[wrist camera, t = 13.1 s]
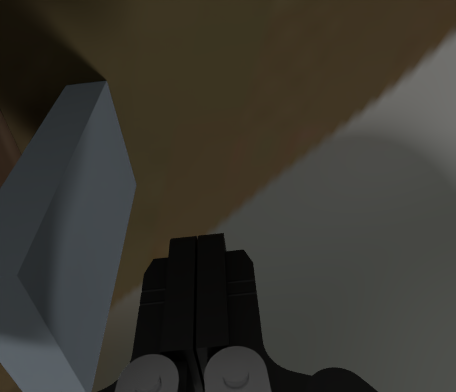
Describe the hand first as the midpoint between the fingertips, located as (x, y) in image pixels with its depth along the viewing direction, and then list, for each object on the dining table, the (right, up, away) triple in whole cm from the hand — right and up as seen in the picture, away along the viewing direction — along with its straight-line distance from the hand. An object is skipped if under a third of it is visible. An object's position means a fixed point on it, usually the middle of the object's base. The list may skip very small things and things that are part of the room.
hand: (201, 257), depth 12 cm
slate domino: (-4, +4, +6) cm, 8 cm away
